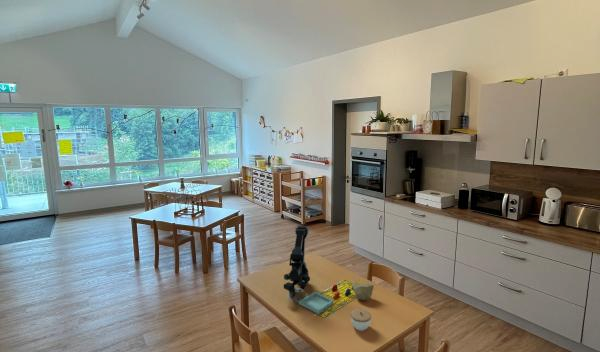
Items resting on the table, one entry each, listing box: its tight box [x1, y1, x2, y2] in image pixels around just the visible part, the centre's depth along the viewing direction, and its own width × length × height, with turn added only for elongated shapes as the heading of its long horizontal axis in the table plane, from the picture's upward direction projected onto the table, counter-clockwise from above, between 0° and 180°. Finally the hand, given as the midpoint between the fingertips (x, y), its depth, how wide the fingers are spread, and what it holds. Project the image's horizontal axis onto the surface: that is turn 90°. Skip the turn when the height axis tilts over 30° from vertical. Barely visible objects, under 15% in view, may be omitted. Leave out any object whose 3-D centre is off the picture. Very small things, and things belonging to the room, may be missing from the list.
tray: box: [298, 291, 335, 315], centre depth 202 cm, size 15×15×2 cm
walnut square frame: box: [288, 286, 306, 301], centre depth 209 cm, size 7×9×4 cm
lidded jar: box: [350, 308, 372, 332], centre depth 179 cm, size 11×11×9 cm
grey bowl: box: [350, 281, 374, 301], centre depth 208 cm, size 15×11×12 cm
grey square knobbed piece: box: [286, 287, 308, 304], centre depth 210 cm, size 10×10×6 cm
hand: (297, 294), depth 210 cm, fingers open, 8 cm apart
